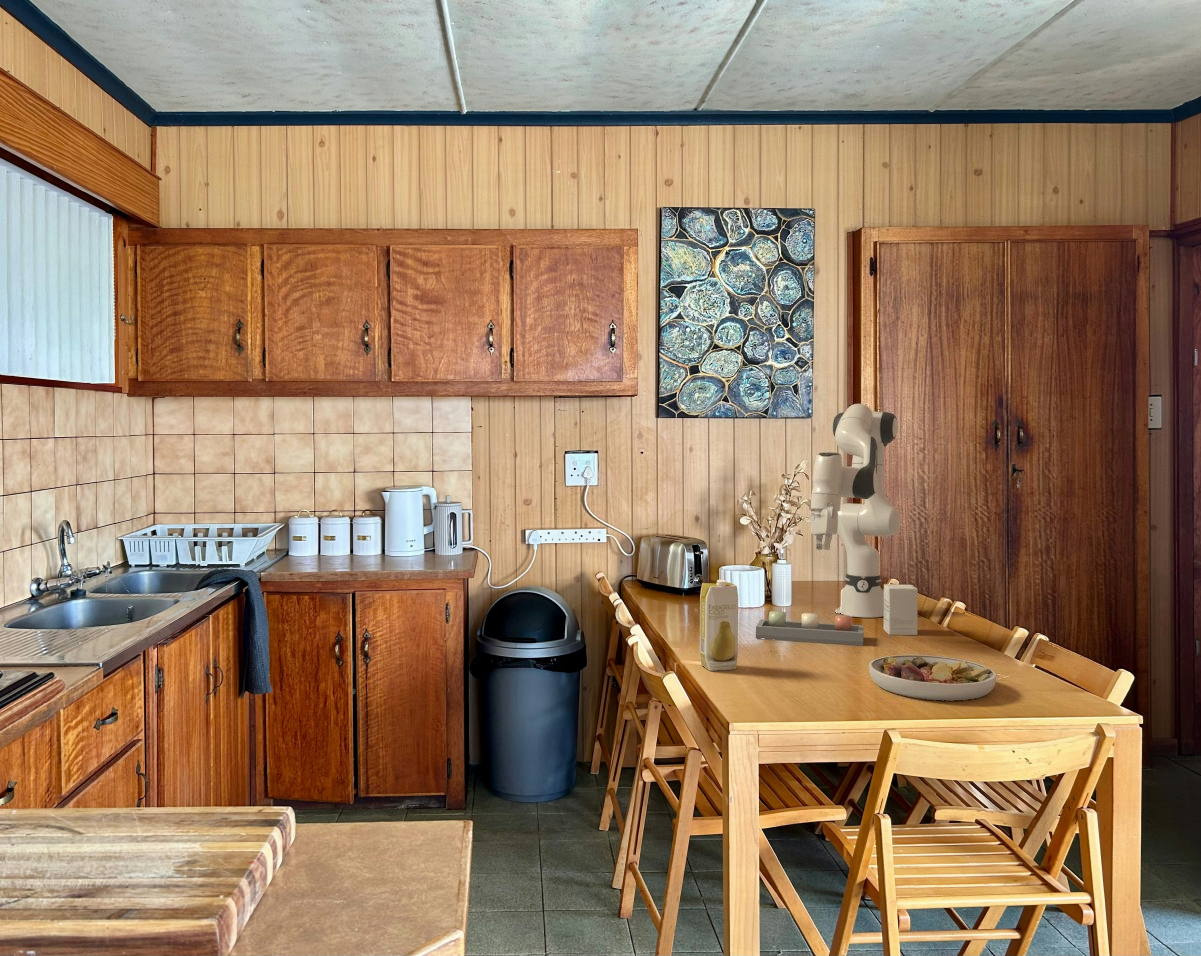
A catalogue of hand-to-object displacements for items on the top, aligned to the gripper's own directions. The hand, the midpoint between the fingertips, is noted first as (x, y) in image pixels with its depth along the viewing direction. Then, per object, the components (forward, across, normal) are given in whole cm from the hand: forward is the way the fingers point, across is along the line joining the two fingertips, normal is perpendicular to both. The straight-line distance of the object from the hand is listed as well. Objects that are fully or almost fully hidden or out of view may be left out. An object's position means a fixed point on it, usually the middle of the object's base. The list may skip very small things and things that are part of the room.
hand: (822, 549), depth 285 cm
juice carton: (+35, -30, +33) cm, 56 cm away
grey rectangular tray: (+28, +8, 0) cm, 29 cm away
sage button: (+25, +11, +10) cm, 29 cm away
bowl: (+33, -48, -18) cm, 61 cm away
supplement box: (+24, +18, -31) cm, 43 cm away
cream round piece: (+24, +8, 0) cm, 25 cm away
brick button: (+24, +5, -9) cm, 26 cm away
